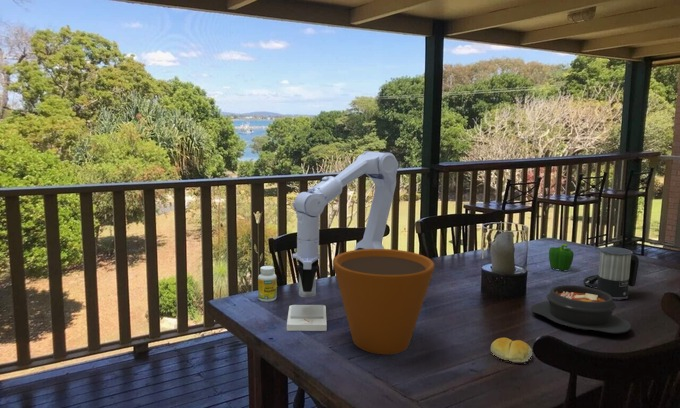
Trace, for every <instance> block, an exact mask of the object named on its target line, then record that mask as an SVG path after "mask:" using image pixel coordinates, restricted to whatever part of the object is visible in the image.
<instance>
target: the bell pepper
mask: <svg viewBox="0 0 680 408" xmlns="http://www.w3.org/2000/svg"><path fill="white" fill-rule="evenodd" d="M548 259H549V265H550V268H551V269H552V268H554V269H559V270H558V271H560V270H568V271H569V270H570V268H571V267H572V264H573V260H574V251H573V250H572V249H571V248H569V245H567V244H565V243H563V244H561V245H560V246H558V247H550V249H549V250H548ZM554 269H553V270H554Z"/></svg>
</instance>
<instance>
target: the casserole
mask: <svg viewBox="0 0 680 408" xmlns="http://www.w3.org/2000/svg"><path fill="white" fill-rule="evenodd" d="M546 299H547V301H541V302H537V303H534V304H533V305H532V306H531V308H530V310H531V311H532V312H533V313H535V314H537V315H540V316H542V317H545V318H546V319H548V320H551V322H554V323H556V324H559V325H561V326H563V325H565V326H564V327H566V326H568V327H567V328H569V327H572V328H571V329H573V328H578V329H585V330H584V331H588V330H594V331H593V332H595V331H597V332H600V333H608V334H615V335H616V334H622V333H626V332H629V331H630V330H631V329H632V324H631V323H630V322H629V321H628V320H626V319H624V318H621V317H617V316H616V315H615V316H614V315H613V311H615V309H616V308H617V305H616V303H615V302H614V300H613V298H612V296H611V295H609V294H608V293H606V292H603V291H601V290H597V288H591V287H588V286H585V285H584V286H582V285H576V284H575V285H573V284H564V285H556V286H554V287H552V288H551V289H550V291H549V293H548V294H547V295H546ZM578 329H577V330H578Z"/></svg>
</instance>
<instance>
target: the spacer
mask: <svg viewBox="0 0 680 408" xmlns="http://www.w3.org/2000/svg"><path fill="white" fill-rule="evenodd" d="M316 281H317V273H316V274H315V277H314V282H313V287H312V291H311V292H303V288H302V282H301V277H300V274H299V273H298V295H299V297H301V298H308V299H309V298H312V297H313V298H314V297H315V296H316V286H317V285H316V284H317V283H316Z"/></svg>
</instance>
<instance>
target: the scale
mask: <svg viewBox="0 0 680 408" xmlns="http://www.w3.org/2000/svg"><path fill="white" fill-rule="evenodd" d="M327 325H328V324H327V307H326V305H324V304H292V305H289V307H288V314H287V320H286V331H287V332H291V331H292V332H293V331H294V332H307V331H308V332H327Z"/></svg>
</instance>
